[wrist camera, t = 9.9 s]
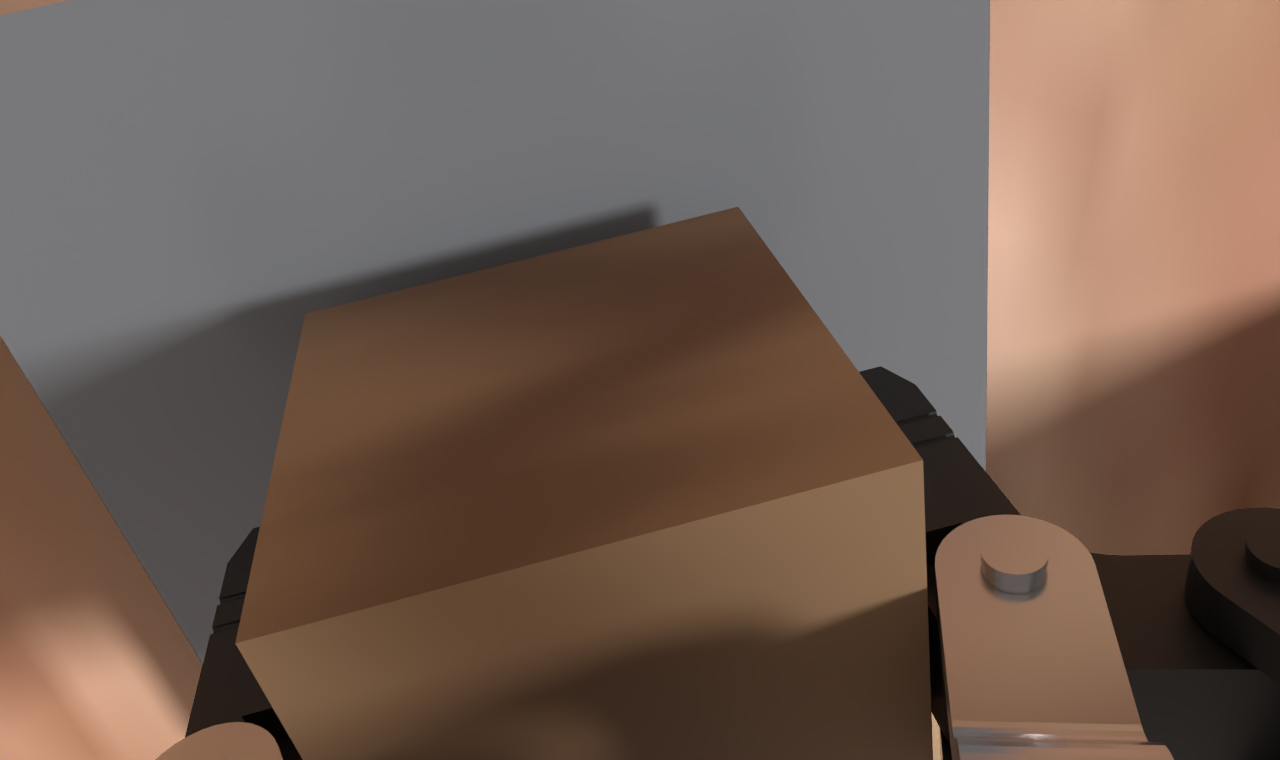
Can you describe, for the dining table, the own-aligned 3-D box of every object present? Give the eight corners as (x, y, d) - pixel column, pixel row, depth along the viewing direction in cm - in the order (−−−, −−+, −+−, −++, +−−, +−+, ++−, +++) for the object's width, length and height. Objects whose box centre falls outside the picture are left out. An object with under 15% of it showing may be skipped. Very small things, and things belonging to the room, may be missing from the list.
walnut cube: (737, 206, 11) (922, 459, 7) (782, 531, 14) (936, 854, 10) (304, 314, 11) (235, 643, 7) (435, 625, 14) (440, 998, 10)
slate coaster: (912, -212, 12) (991, -208, 10) (933, 525, 19) (984, 599, 17) (-86, 13, 11) (-173, 54, 10) (296, 698, 18) (282, 794, 16)
